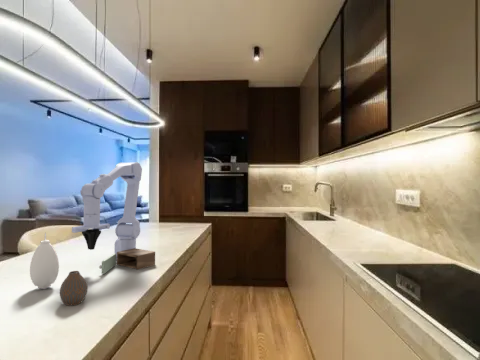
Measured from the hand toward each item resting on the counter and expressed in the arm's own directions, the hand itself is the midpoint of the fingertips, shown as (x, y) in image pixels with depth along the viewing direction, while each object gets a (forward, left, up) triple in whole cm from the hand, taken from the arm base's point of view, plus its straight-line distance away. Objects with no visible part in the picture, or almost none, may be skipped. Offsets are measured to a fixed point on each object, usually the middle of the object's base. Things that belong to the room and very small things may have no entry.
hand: (91, 249), depth 119 cm
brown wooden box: (+7, +16, -9) cm, 19 cm away
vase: (+25, -22, -9) cm, 35 cm away
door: (+4, +5, -8) cm, 10 cm away
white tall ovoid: (+5, -20, -9) cm, 22 cm away
